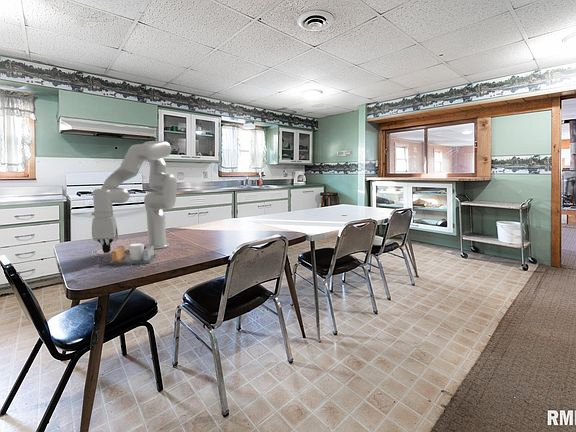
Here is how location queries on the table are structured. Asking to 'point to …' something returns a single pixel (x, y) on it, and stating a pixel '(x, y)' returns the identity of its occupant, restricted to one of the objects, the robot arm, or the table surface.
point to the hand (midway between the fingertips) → (106, 252)
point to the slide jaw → (118, 253)
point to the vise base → (147, 259)
